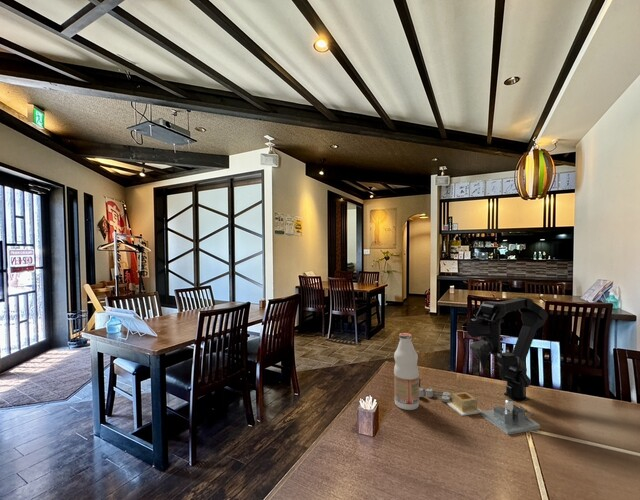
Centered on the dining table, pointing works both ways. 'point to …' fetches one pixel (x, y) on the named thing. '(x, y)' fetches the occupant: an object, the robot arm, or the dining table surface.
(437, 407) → the dining table surface
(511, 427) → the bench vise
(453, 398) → the brass collar
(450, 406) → the felt mat
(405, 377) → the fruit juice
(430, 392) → the pulley system
